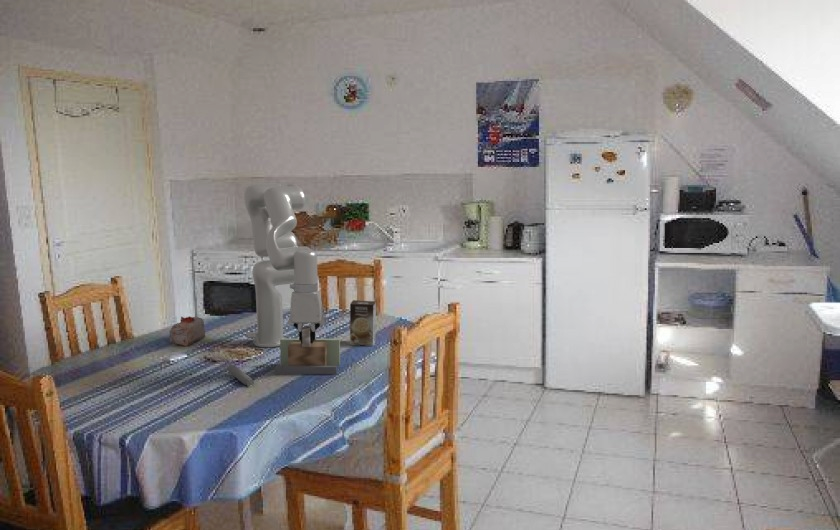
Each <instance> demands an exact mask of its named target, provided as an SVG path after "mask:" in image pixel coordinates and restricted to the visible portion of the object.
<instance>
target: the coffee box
mask: <svg viewBox="0 0 840 530" xmlns="http://www.w3.org/2000/svg"><path fill="white" fill-rule="evenodd" d="M349 308H350V310H349V314H350V315H349V318H350V320H349V322H350V325H349V330H350V331H349V339H350V340H349V345H350V346H360V345H365V346H364V347H374V345H375V343H376V342H375V341H376V335H377V334H376V333H377V331H376V329H377V328H376V327H377V326H376V325H377V324H376V321H377V319H376V318H377V313H376V312H377V310H376V309H377V302H376V300H373V301H371V300H358V299H357V300H355V299H353V300H352V301H351V302H350V304H349Z"/></svg>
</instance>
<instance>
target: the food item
mask: <svg viewBox="0 0 840 530" xmlns="http://www.w3.org/2000/svg"><path fill="white" fill-rule="evenodd" d="M203 338H206V329H205V321H204V319H203V318H202V317H199V316H187V317H183V316H181V317H180V322H177V323H175V324H173V325H172V326H171V327H170V329H169V342H170V343H172V344H173V345H177V346H180V347H188V346H190V345H192V344H193V343H195V342H197V341H199V340H201V339H203Z"/></svg>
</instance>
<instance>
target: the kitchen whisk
mask: <svg viewBox="0 0 840 530" xmlns="http://www.w3.org/2000/svg"><path fill="white" fill-rule="evenodd" d="M215 348H216V346H214V347H213V348H212V347H211V349H212V350H211V349H209V350H210V351H209V352H210V353H208V352H205V354H206V355H207V356H206V359H205V360H206V361H208V359H207V358H208V356H209V359H210V360H209V364H210V365H212V366H215V367H218V368H220V369H221V370H223V371H225V370H226V371H228V372H229V373H230V374H231V375H232V376H233V377H235V378H236V379H237V380H238V381H239V382H241V383H242V384H244V385H245V386H246V385H247V386H246V387H248V386H250V385H252V386H253V388H255V386H254V384H255V382H254V379H253V378H251V377H250V376H249V375H248V374H246V373H245V372H243V371H242V370H241V369H240V368H239V367H237V366H236V365H235V364H234V363H233V361H232V358H229V357H230V355H229V354H226V350H223V349H221V347H219V346H218V349H221V351H222V352H223V353H224V354H225V356H226V358H225V356H222V355H220V354H219V353H217V351H218V349H216V350H215ZM214 354H215V355H218V356H219V357H221V358H222V359H224V360H225V363H226V364H227V365H225V364H223V363H222V362H220V361H218V359H216V357H215V356H214ZM211 358H212V359H213V360H214V361H216V362H217V363H218V364H221V365H223V366H225V367H224V368H223V367H222V366H218V365H216V364H213V363H212V360H211ZM250 387H251V386H250Z"/></svg>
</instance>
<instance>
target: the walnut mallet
mask: <svg viewBox="0 0 840 530" xmlns="http://www.w3.org/2000/svg"><path fill="white" fill-rule="evenodd" d="M310 332H311V324H310V325H309V324H308V325H304V324H303V328H302V344H301V342H291V343H290V344H289V346H288V365H318V366H327V365H326V364H327V342H313V344H311V343H310Z"/></svg>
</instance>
